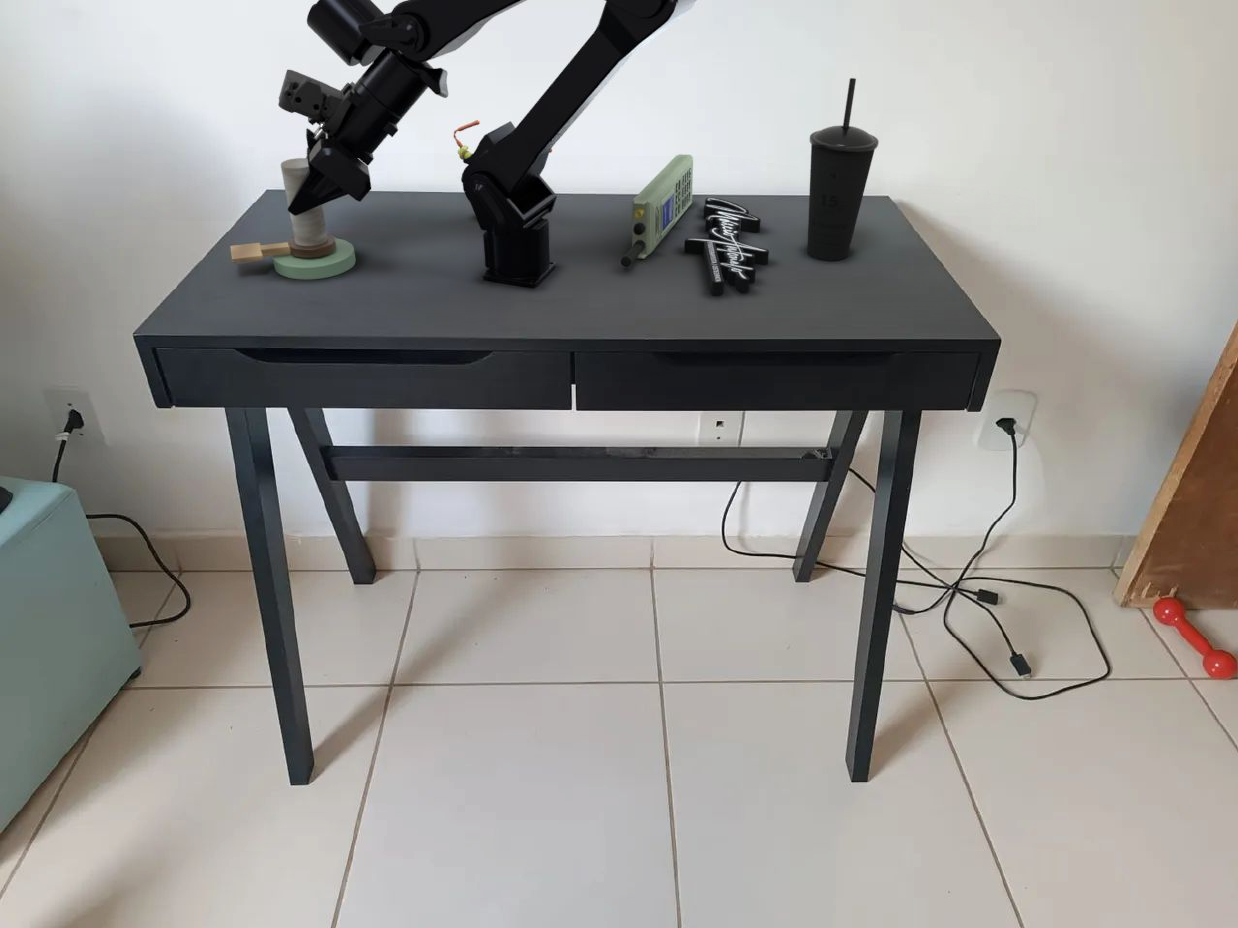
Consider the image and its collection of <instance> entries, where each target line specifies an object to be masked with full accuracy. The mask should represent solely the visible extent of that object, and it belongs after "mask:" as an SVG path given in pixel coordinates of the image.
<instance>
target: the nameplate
mask: <svg viewBox="0 0 1238 928" xmlns="http://www.w3.org/2000/svg"><path fill="white" fill-rule="evenodd" d="M702 216H703V218H705V222H704V223H705V225H704V232H705V233H706V232H707V233H708V238H702V237H687V238H685V239H684V247H683V252H684V253H686V254H699V255H700V254H701V255H703V260H704V261H703V262H704V266H705V271H706V276H707V281H708V286H709V291H710V294H711V295H712V296H714V297H715V296H716V297H720V296H722V295H723V293H724V282H725V281H726V283H727V284H728V285H730V286H734V288H735V289H736V290H737V291H738V292H740V293H743V294H747V293H749V287H750V284H754V283H755V281H756V272H757V268H756V267H755V264H757V265H764V266H765V265H767V264H768V262H769V254H770V250H769V249H766V248H763V247H759V246H755V245H753V244H752V245H751V244H748V243H744V242H741V241H740V237H741V231H744V232H749V233H760V230H761V221H762V219H761V218H760V217H758V216H756V215H753V214H751V213H750V211H749V209H747V208H746V207H744V206H742V205H740V204H737V203H734V202H733V201H729V200H725V199H723V198H717V197H706V198H705V199H704V205H703V215H702Z"/></svg>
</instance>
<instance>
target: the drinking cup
mask: <svg viewBox="0 0 1238 928" xmlns="http://www.w3.org/2000/svg"><path fill="white" fill-rule="evenodd" d="M856 82H857V78H856V77H855V78H854V77H850V78H849V81H848V87H847V95H846V102H845V108H844V114H843V115H844V116H843V123H842V125H832V126H828V127H825V128H823V129H821V130H817V131H814V132H812V133H811V134H810V135H809V139H808V140H809V143H810V145H811V146H810V149H811V150H810V169H809V171H810V173H809V197H808V198H809V199H808V221H807V245H806V246H807V247H806V248H807V249H806V252H807V254H808V255H809V256H810V257H811V258H814V259H817V260H820V261H827V262H836V261H837V262H838V261H842V260H844V259H846V258H848V256H849V251H850V248H851V245H852V240H853V237H854V232H855V228H856V223H857V220H858V216H859V212H860V209H861V204H862V200H863V196H864V193H865V190H866V189H865V188H866V185H867V182H868V177H869V173H870V169H871V165H872V161H873V158H874V154H875V150H876V149H877V148H878V147H879V139H878V138H877V137H876V136H875V135H872V134H871V133H868V132H867V131H866V130H864V129H862V128H859V127H856V126H851V125H850V123H851V116H852V108H853V102H854V97H855V96H854V95H855V90H856V89H855V88H856Z"/></svg>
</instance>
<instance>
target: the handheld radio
mask: <svg viewBox="0 0 1238 928" xmlns="http://www.w3.org/2000/svg"><path fill="white" fill-rule="evenodd" d="M693 176H694V157H693V155H691V154H684V153H683V154H681V153H680V154H677V155H675V156H674V157H673V158H672V159H671V160H670V161H669V163H667V164H666V165H665V166H664V167H663V169H661V170H660V172H659V173H657V175H656V176H655V177H654V178H653V179H652V180H650V181H649V183H648V184H647V185H645V187H644V188H643V189H642V190H641V191H640V192H639V193H638V194H637V195H636V196H635V197H634V198H633V199H632V201H631V244H632V245H631V247H630V248H629V249H628V251H627V252H625V254H624V255H623V256H622V257H621V258H620V265H621V266H622V267H624V268H629V267H631V266H632V264H633V263H634V262H635V261H636V259H640V260H644V259H646V258H647V257H648V256H649V255H650V254H652V253H653V252H654V250H655V249H656V248H657V246H658V245H660V243H661V242H662V241H663V239H664V238H665V237H666V235H667V234H668V233H669V232H670V230H671V229H672V228H673V227H674V226H675V224H677V222H679V220H680V218H681V217H682V216H683V214H684V213H685V212H686V211H687V209H689V207H690V206H691V205H692V204H693V183H694V182H693V180H694V177H693Z"/></svg>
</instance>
